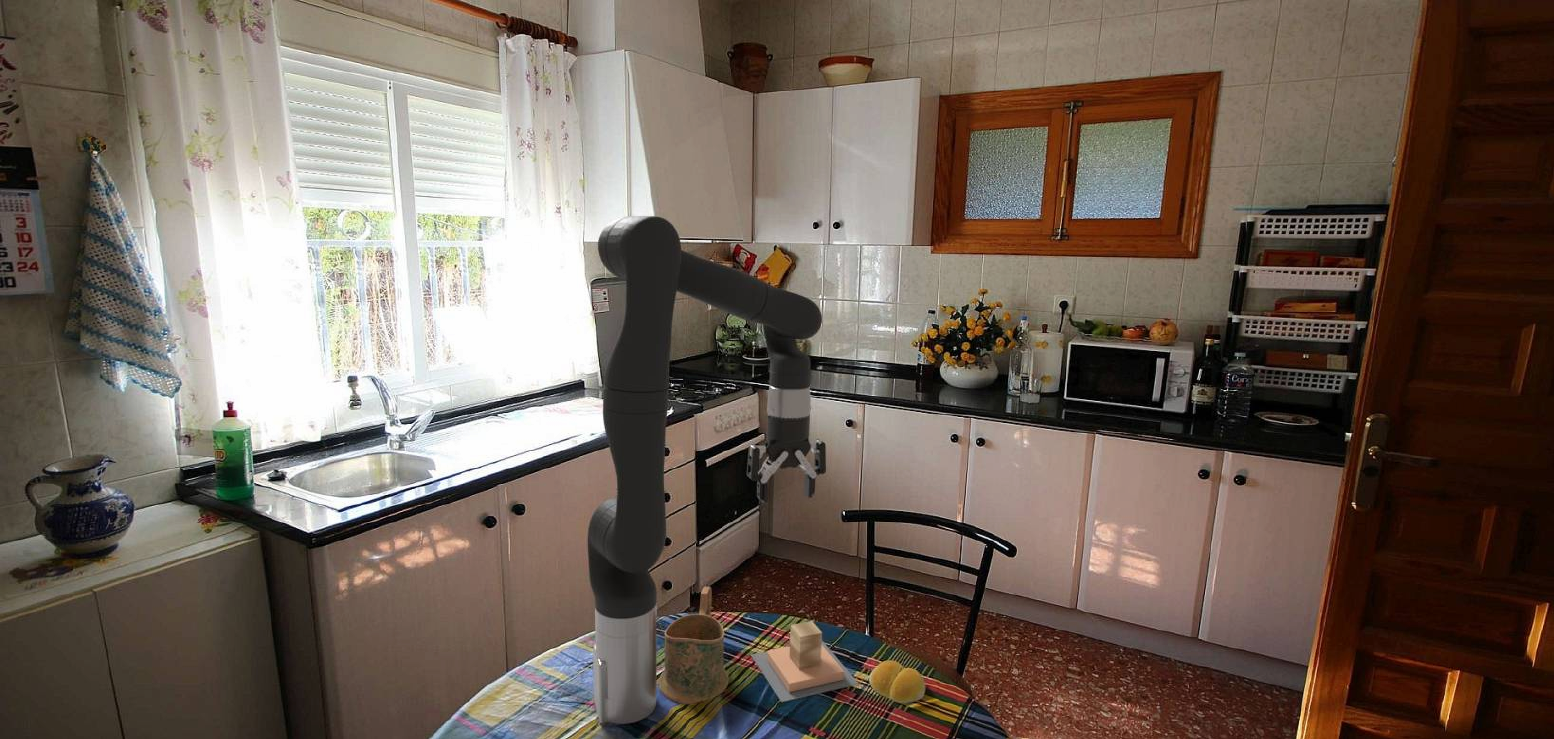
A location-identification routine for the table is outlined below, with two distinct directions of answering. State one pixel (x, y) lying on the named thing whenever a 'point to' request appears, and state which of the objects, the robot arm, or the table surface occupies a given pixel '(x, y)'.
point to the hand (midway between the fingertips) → (785, 499)
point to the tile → (804, 670)
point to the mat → (786, 695)
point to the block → (805, 645)
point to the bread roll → (897, 682)
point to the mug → (694, 656)
